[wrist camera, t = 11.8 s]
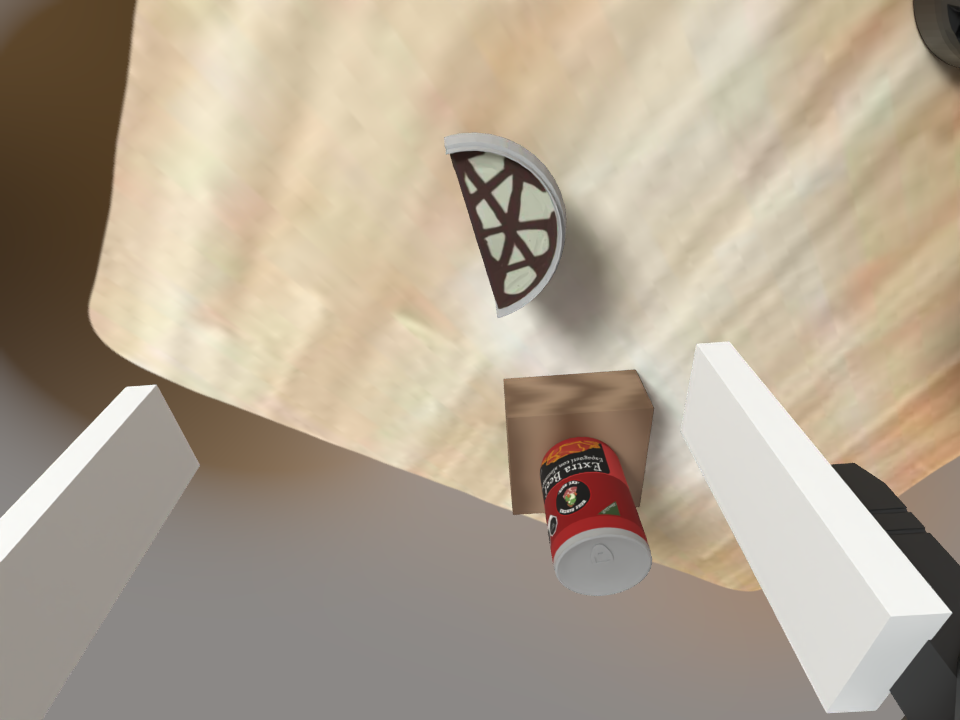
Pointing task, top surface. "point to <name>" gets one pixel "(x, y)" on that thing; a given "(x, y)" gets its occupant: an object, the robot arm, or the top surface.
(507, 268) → the food container
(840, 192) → the top surface
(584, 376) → the walnut stand
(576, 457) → the canned food
